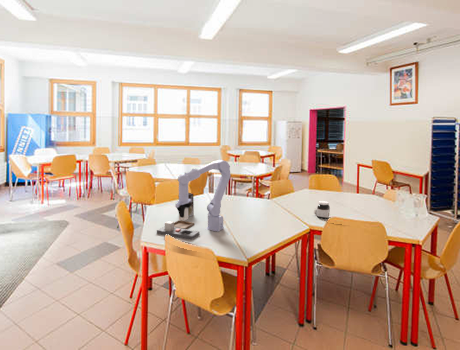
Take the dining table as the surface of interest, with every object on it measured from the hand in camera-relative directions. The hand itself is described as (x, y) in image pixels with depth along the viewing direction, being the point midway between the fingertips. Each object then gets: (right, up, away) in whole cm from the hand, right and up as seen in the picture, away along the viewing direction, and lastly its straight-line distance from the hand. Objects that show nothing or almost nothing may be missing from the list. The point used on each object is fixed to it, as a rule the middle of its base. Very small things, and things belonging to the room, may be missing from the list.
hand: (183, 216), depth 182 cm
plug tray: (-3, -8, +10) cm, 13 cm away
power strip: (-3, -11, -4) cm, 12 cm away
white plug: (0, -2, 0) cm, 2 cm away
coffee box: (-3, -5, +34) cm, 34 cm away
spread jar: (+95, -6, +36) cm, 101 cm away
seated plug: (-8, -10, -2) cm, 13 cm away
